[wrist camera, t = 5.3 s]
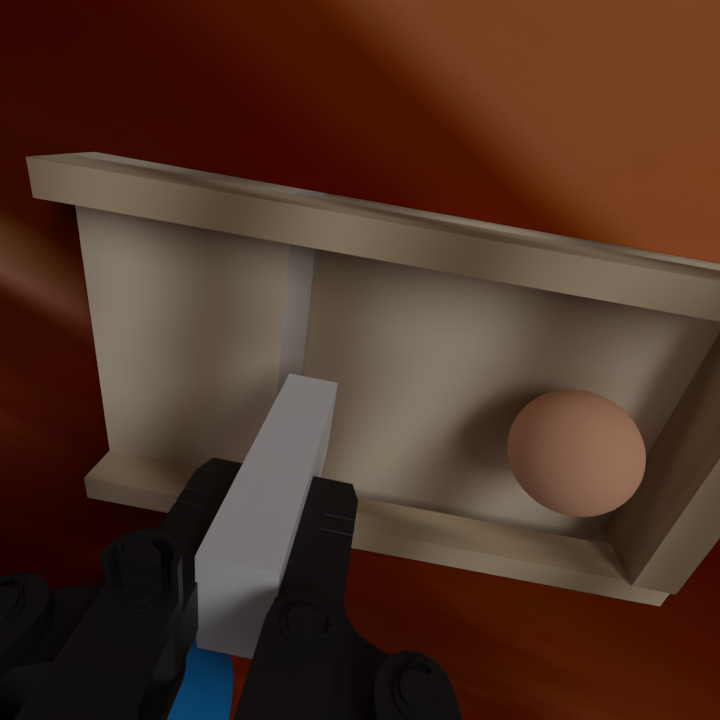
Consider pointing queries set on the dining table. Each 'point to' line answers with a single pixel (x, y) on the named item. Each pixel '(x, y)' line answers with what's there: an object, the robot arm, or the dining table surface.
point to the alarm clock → (204, 686)
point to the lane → (397, 363)
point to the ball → (576, 453)
